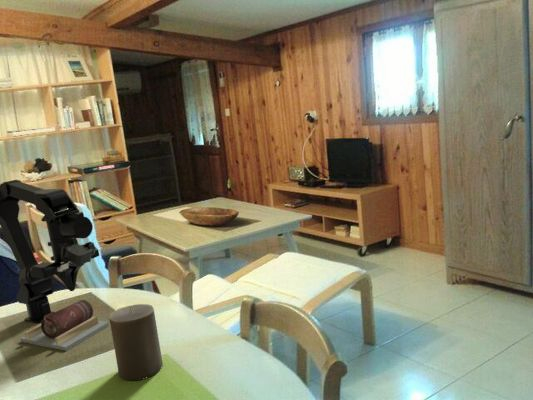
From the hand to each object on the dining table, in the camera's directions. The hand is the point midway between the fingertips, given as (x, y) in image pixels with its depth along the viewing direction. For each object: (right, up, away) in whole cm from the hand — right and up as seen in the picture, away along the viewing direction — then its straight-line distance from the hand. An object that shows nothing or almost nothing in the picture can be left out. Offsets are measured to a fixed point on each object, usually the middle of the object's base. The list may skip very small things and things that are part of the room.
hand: (72, 290), depth 138 cm
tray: (-1, -11, -2) cm, 12 cm away
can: (+2, -6, +6) cm, 9 cm away
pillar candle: (+26, -13, -26) cm, 39 cm away
